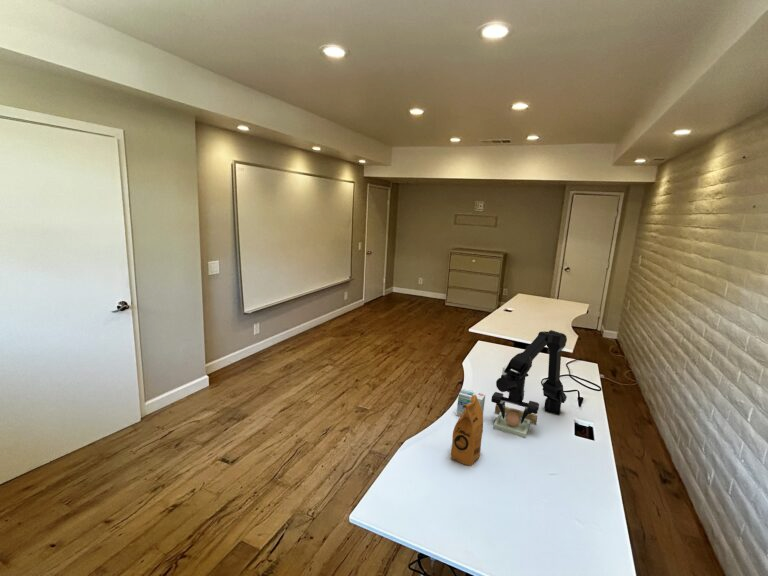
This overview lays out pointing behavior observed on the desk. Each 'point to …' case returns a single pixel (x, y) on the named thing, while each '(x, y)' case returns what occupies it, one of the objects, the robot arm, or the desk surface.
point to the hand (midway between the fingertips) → (512, 420)
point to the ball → (512, 418)
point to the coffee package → (468, 434)
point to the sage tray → (516, 430)
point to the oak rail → (507, 409)
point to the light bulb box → (468, 400)
